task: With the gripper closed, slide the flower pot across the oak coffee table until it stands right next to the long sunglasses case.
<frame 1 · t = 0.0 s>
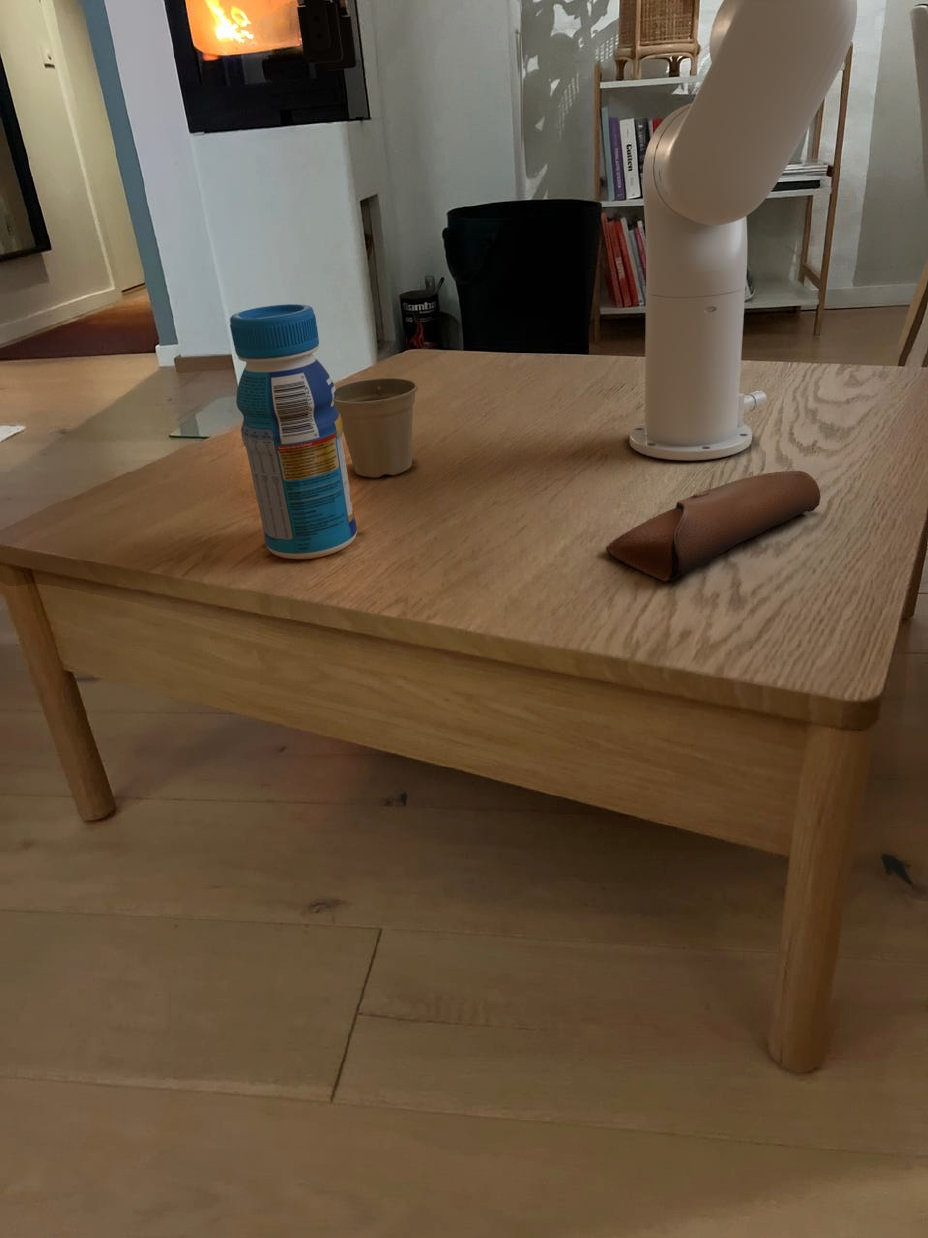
hand: (332, 65, 80), 37 cm above the table, tool pointing down, fingers open, 9 cm apart
flower pot: (383, 470, 97), on the table
sunglasses case: (712, 538, 75), on the table
beverage bottle: (313, 544, 81), on the table
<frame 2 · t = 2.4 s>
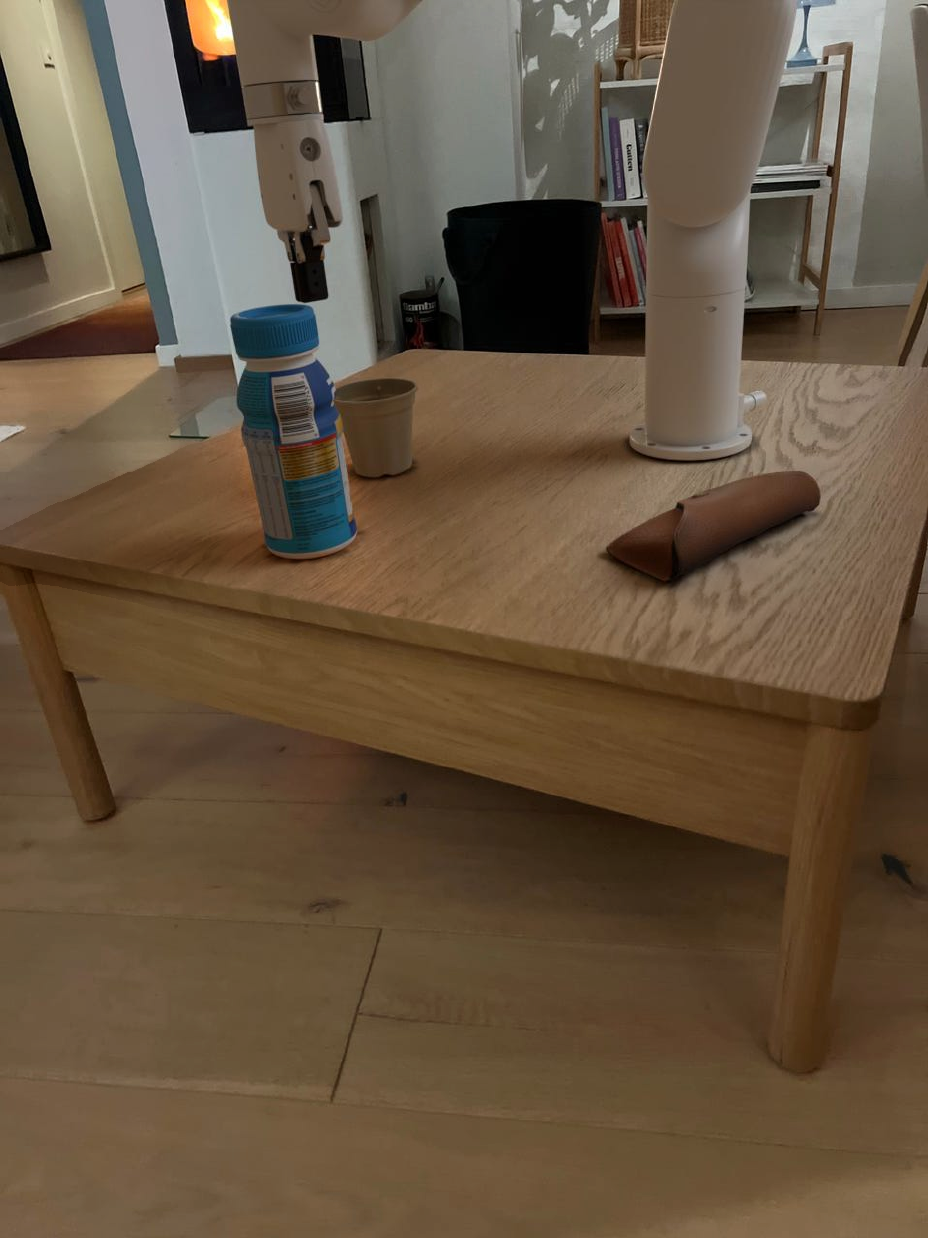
hand: (312, 299, 98), 17 cm above the table, tool pointing down, fingers closed
nothing on the table moved.
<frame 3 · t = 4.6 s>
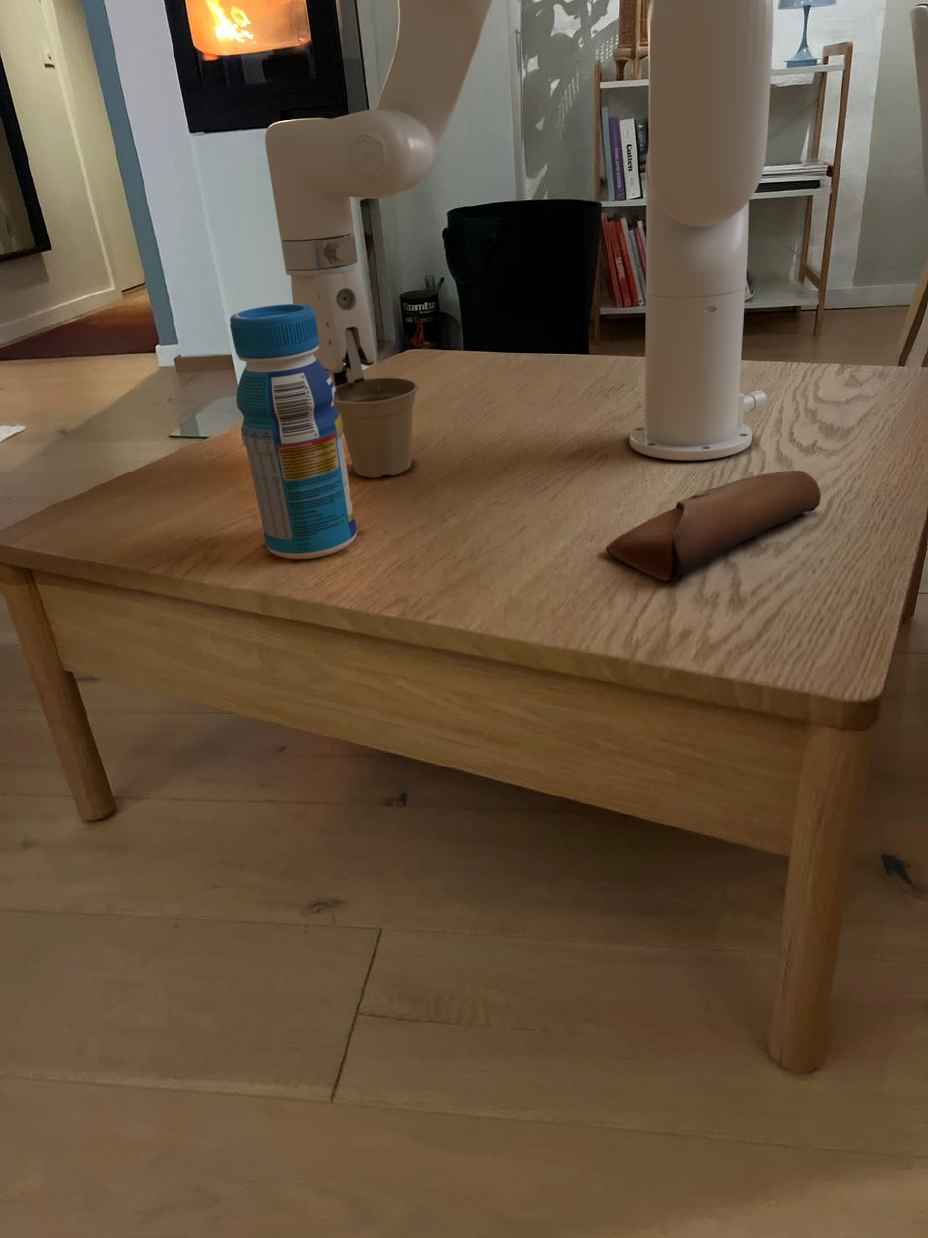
hand: (344, 428, 102), 3 cm above the table, tool pointing down, fingers closed
flower pot: (383, 470, 97), on the table, touching gripper
everything else where it was.
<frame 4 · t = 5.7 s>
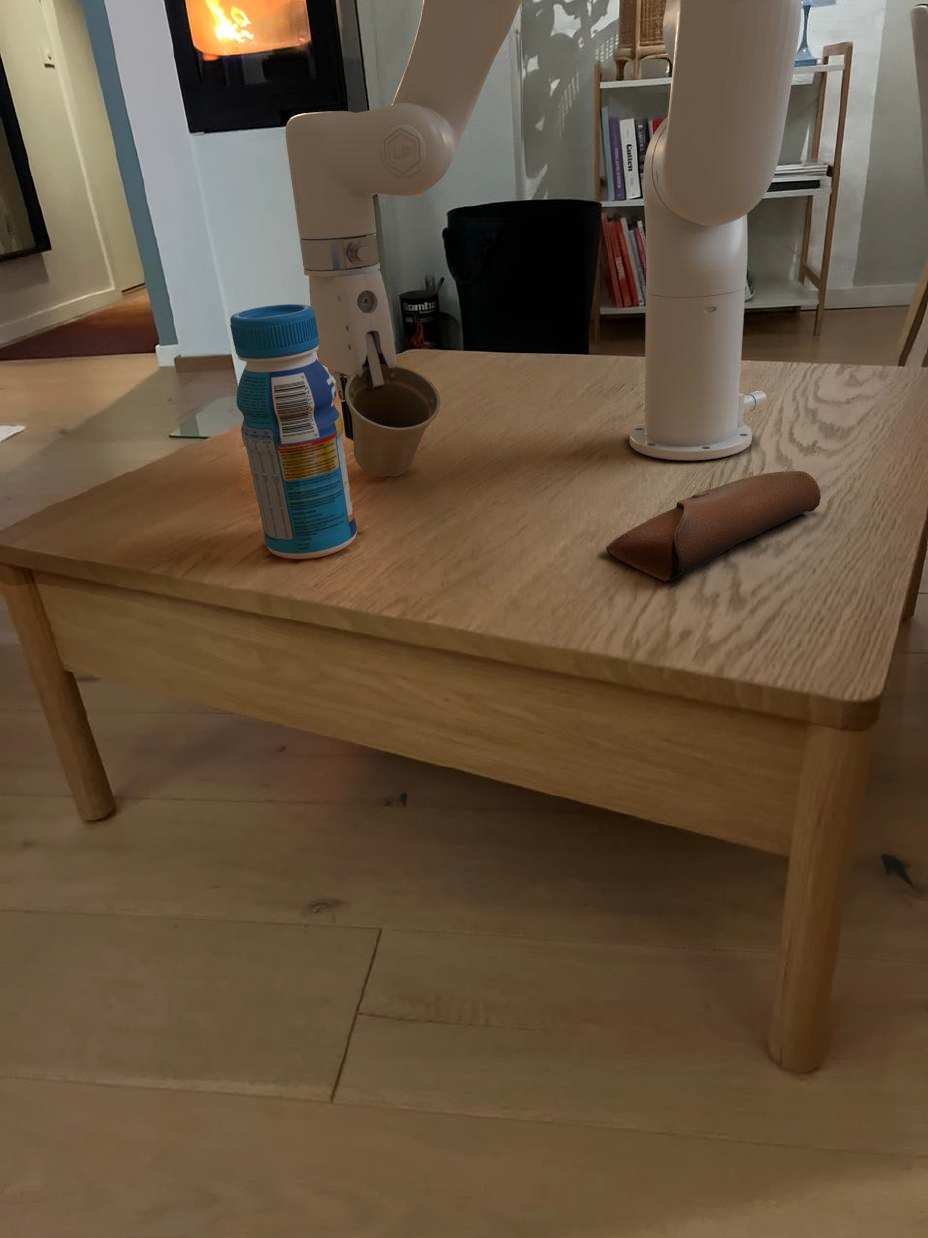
hand: (362, 436, 98), 3 cm above the table, tool pointing down, fingers closed
flower pot: (382, 459, 96), point 1 cm above the table, touching gripper
everything else where it was.
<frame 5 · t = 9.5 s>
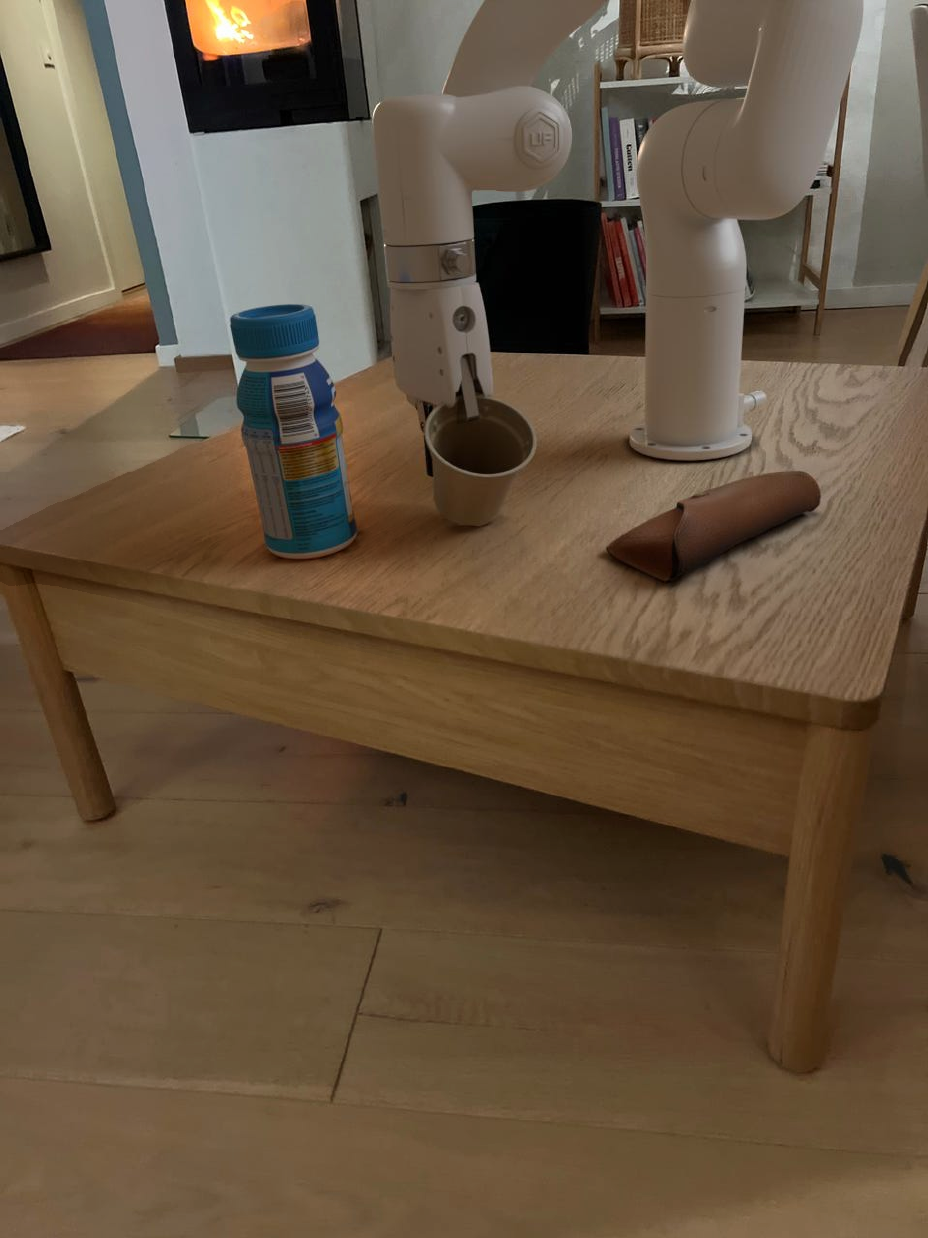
hand: (446, 474, 84), 3 cm above the table, tool pointing down, fingers closed
flower pot: (467, 503, 82), point 1 cm above the table, touching gripper
everything else where it was.
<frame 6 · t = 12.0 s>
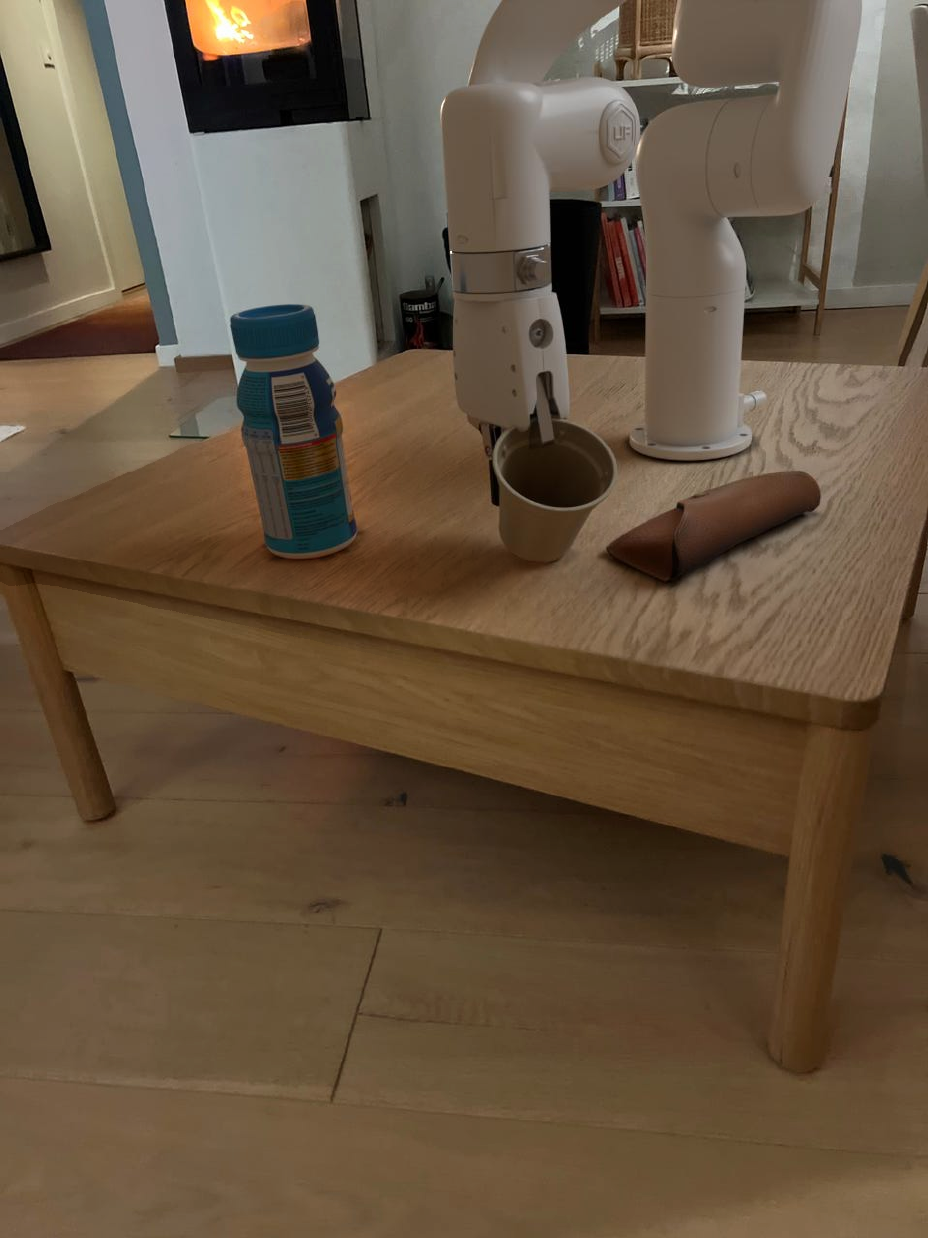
hand: (512, 503, 76), 3 cm above the table, tool pointing down, fingers closed
flower pot: (535, 536, 75), point 1 cm above the table, touching gripper
everything else where it was.
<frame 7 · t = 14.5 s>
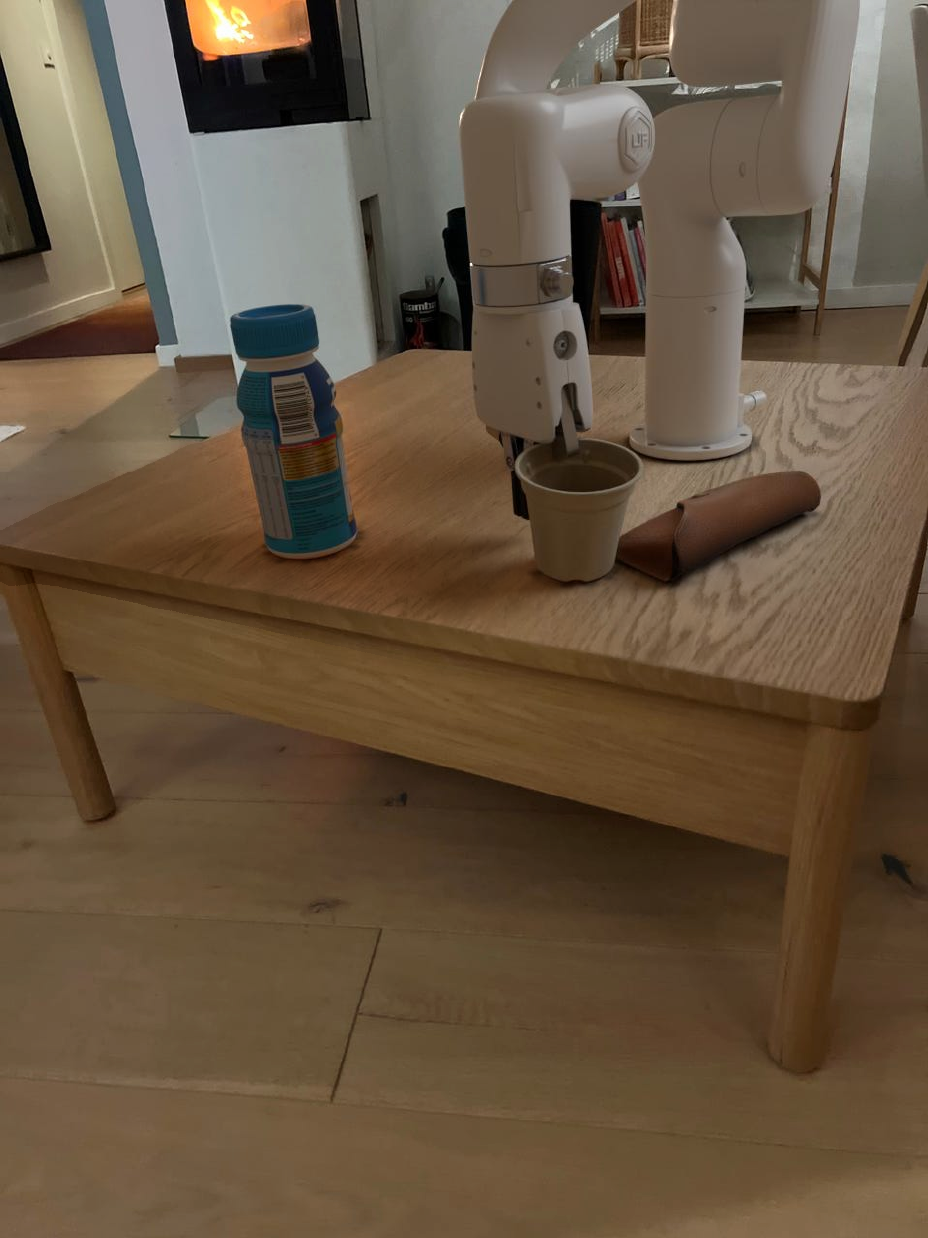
hand: (534, 512, 76), 2 cm above the table, tool pointing down, fingers closed
flower pot: (574, 565, 72), on the table, touching gripper
everything else where it was.
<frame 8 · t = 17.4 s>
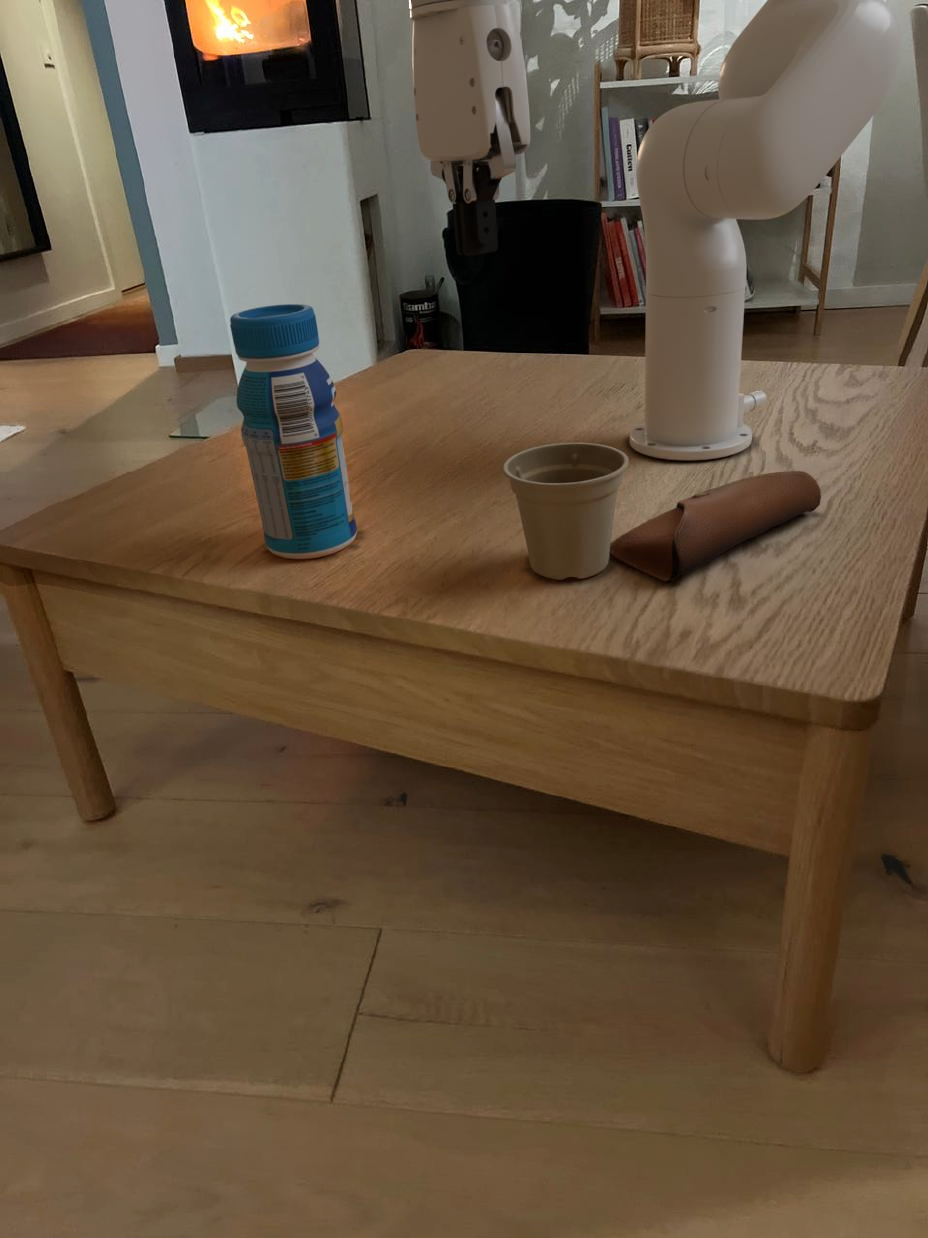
hand: (477, 252, 76), 22 cm above the table, tool pointing down, fingers closed
flower pot: (569, 567, 72), on the table
everything else where it was.
at the end: flower pot inside the target area on the table beside the sunglasses case (4.0 cm from its centre), on the table; flower pot 12.7 cm from the sunglasses case (horizontally); flower pot tilted 0° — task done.
